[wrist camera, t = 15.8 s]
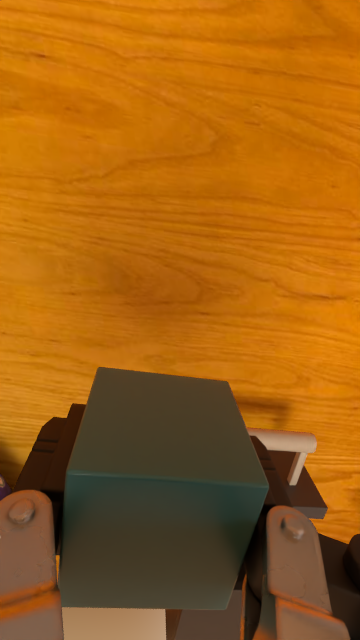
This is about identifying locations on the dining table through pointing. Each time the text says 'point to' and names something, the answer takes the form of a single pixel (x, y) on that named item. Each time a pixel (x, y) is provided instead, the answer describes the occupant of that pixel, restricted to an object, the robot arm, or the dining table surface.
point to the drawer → (292, 470)
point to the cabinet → (206, 621)
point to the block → (158, 495)
